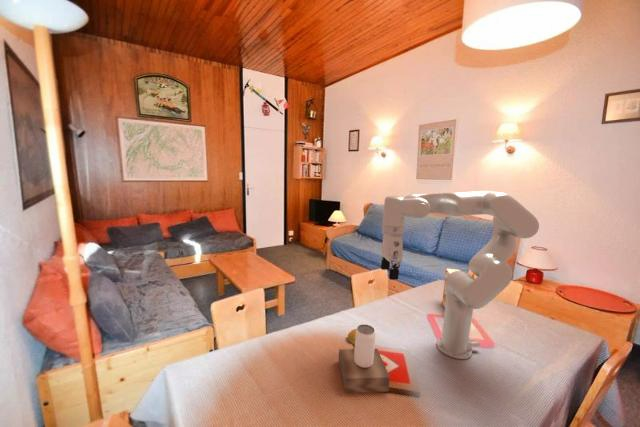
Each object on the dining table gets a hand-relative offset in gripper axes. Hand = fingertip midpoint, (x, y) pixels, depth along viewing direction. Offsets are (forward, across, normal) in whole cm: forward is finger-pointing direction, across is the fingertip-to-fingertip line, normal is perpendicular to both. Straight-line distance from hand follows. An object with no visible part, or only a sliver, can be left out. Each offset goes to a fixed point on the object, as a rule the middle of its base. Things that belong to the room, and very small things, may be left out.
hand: (389, 274), depth 106 cm
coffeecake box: (+31, +28, -45) cm, 61 cm away
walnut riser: (+30, -15, +12) cm, 36 cm away
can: (+26, -15, +12) cm, 32 cm away
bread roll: (+31, +4, +9) cm, 32 cm away
